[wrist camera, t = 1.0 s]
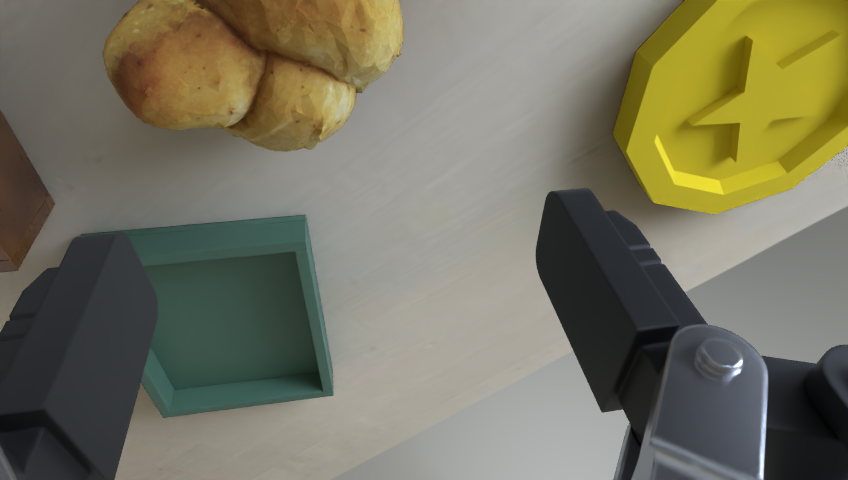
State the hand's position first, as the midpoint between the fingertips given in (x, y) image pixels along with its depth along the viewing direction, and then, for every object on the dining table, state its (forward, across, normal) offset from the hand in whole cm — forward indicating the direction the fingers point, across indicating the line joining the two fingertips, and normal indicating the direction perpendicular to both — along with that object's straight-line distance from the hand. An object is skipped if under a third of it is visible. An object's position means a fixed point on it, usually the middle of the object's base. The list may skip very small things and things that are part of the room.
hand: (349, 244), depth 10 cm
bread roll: (+20, +2, +1) cm, 20 cm away
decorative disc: (+20, -25, +8) cm, 33 cm away
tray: (+20, +10, +23) cm, 32 cm away
